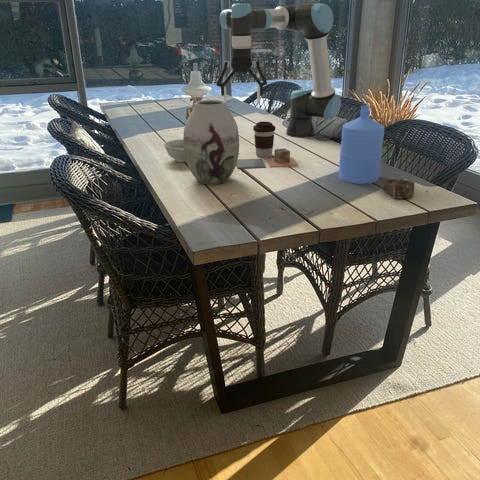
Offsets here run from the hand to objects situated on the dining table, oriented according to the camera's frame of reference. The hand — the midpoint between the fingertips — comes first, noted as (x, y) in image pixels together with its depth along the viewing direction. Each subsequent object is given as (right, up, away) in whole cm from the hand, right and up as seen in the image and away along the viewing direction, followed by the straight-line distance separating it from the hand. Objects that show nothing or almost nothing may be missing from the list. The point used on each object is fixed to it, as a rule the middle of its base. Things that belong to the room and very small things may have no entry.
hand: (241, 103), depth 199 cm
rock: (+56, -42, -26) cm, 75 cm away
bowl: (-26, -20, +20) cm, 39 cm away
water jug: (+46, -32, -7) cm, 56 cm away
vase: (-12, -32, -6) cm, 35 cm away
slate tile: (+3, -23, +13) cm, 26 cm away
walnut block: (+17, -21, +13) cm, 31 cm away
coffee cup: (+10, -17, +25) cm, 32 cm away
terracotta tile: (+17, -22, +14) cm, 31 cm away
